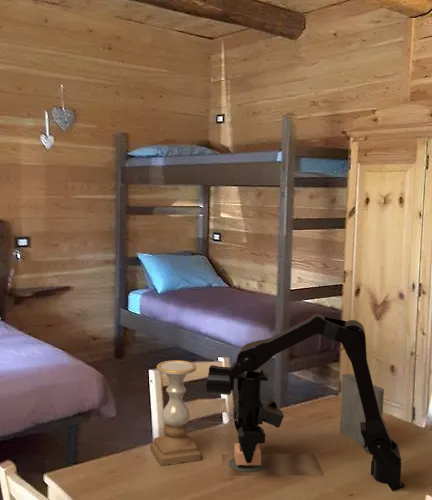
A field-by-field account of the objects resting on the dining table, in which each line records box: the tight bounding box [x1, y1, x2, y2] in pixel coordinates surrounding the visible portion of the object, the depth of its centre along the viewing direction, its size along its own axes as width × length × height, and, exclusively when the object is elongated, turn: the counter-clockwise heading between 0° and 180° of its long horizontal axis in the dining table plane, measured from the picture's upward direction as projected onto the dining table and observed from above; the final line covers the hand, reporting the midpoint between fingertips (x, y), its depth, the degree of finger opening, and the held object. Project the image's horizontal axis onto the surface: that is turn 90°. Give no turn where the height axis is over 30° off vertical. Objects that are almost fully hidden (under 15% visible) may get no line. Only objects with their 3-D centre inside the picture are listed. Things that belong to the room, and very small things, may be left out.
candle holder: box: [149, 359, 202, 466], centre depth 171 cm, size 11×11×24 cm
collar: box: [233, 442, 262, 465], centre depth 164 cm, size 6×6×3 cm
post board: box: [221, 453, 325, 477], centre depth 164 cm, size 24×12×8 cm, turn 93°
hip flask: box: [339, 373, 385, 454], centre depth 181 cm, size 16×4×20 cm, turn 26°
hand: (247, 457), depth 164 cm, fingers closed on collar, 6 cm apart
